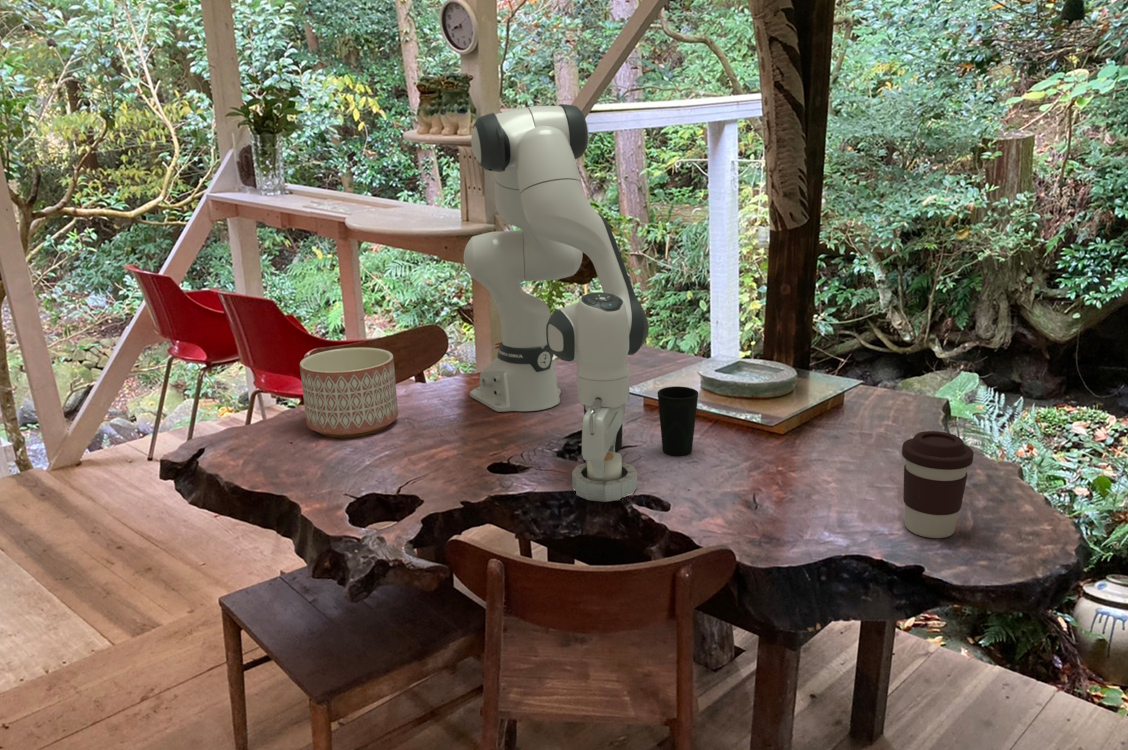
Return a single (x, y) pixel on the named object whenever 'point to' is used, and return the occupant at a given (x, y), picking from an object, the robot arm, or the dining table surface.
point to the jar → (608, 468)
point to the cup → (677, 419)
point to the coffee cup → (934, 482)
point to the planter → (349, 391)
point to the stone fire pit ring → (604, 484)
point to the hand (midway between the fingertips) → (604, 465)
